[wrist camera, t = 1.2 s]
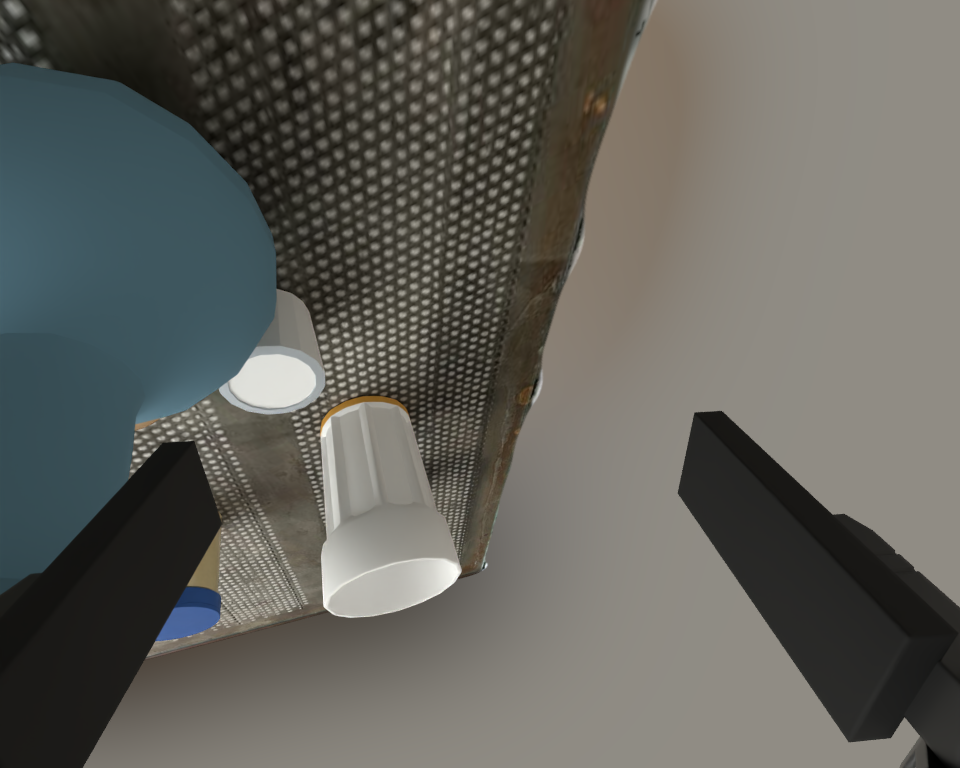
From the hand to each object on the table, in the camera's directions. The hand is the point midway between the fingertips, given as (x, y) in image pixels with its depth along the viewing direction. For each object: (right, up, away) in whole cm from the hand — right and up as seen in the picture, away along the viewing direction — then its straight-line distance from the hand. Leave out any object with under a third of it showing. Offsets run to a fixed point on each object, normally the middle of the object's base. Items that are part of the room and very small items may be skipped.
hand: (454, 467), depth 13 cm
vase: (-20, +13, +15) cm, 29 cm away
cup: (-11, -2, +37) cm, 39 cm away
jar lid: (-29, -21, +34) cm, 49 cm away
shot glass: (-16, +8, +24) cm, 30 cm away
